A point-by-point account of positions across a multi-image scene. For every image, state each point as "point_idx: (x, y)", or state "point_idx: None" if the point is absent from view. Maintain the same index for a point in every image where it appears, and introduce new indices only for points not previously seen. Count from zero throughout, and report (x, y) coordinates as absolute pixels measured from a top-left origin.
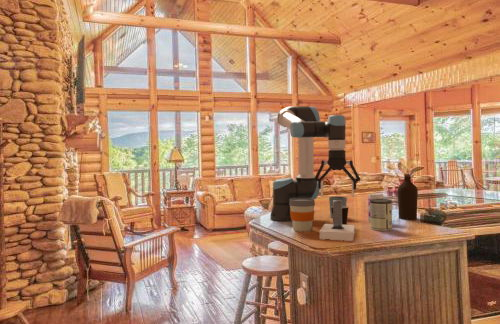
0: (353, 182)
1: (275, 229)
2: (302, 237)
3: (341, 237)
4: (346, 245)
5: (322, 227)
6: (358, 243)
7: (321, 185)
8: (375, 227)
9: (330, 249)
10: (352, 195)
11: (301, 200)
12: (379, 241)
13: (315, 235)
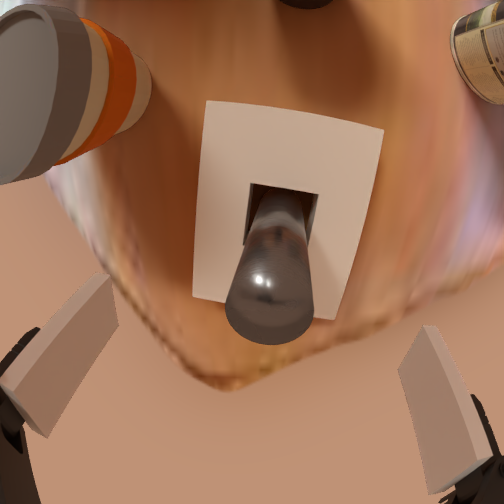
0: (456, 484)
1: None
2: (135, 251)
3: None
4: (295, 353)
5: (198, 211)
6: (341, 329)
7: (56, 403)
8: (473, 82)
9: (243, 386)
10: (407, 381)
11: (1, 81)
12: (421, 297)
13: (177, 210)
